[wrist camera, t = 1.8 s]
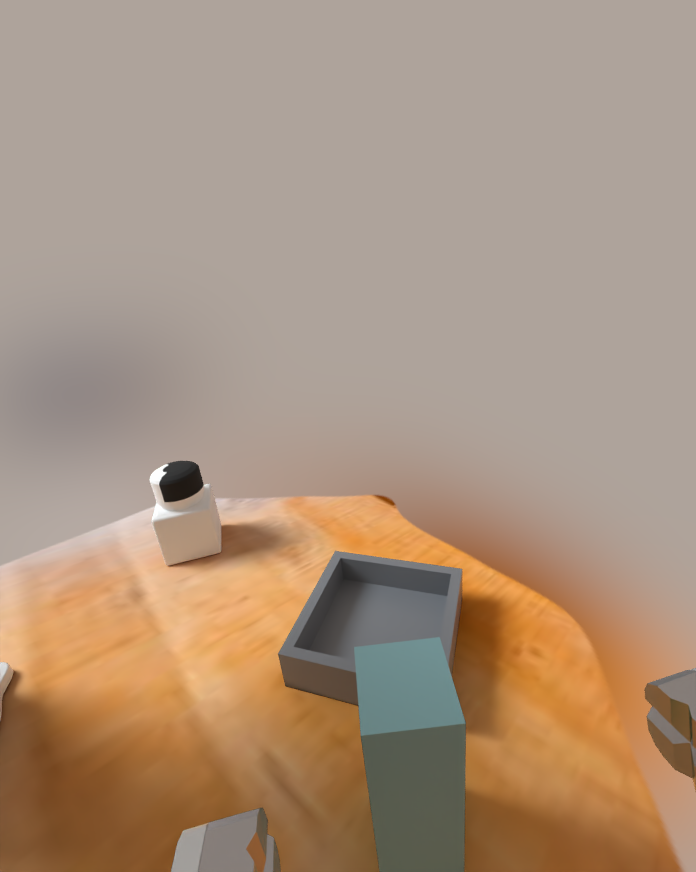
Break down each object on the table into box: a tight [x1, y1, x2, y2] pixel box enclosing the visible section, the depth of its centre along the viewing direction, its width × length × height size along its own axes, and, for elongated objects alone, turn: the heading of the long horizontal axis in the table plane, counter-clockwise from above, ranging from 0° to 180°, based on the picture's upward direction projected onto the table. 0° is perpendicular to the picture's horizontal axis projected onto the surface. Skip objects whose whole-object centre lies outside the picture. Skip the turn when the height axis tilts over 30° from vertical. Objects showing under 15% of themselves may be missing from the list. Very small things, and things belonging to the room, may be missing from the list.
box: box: [278, 551, 462, 705], centre depth 41 cm, size 14×14×4 cm
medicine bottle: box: [150, 461, 221, 566], centre depth 57 cm, size 7×7×12 cm
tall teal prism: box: [354, 637, 466, 872], centre depth 25 cm, size 5×5×14 cm
